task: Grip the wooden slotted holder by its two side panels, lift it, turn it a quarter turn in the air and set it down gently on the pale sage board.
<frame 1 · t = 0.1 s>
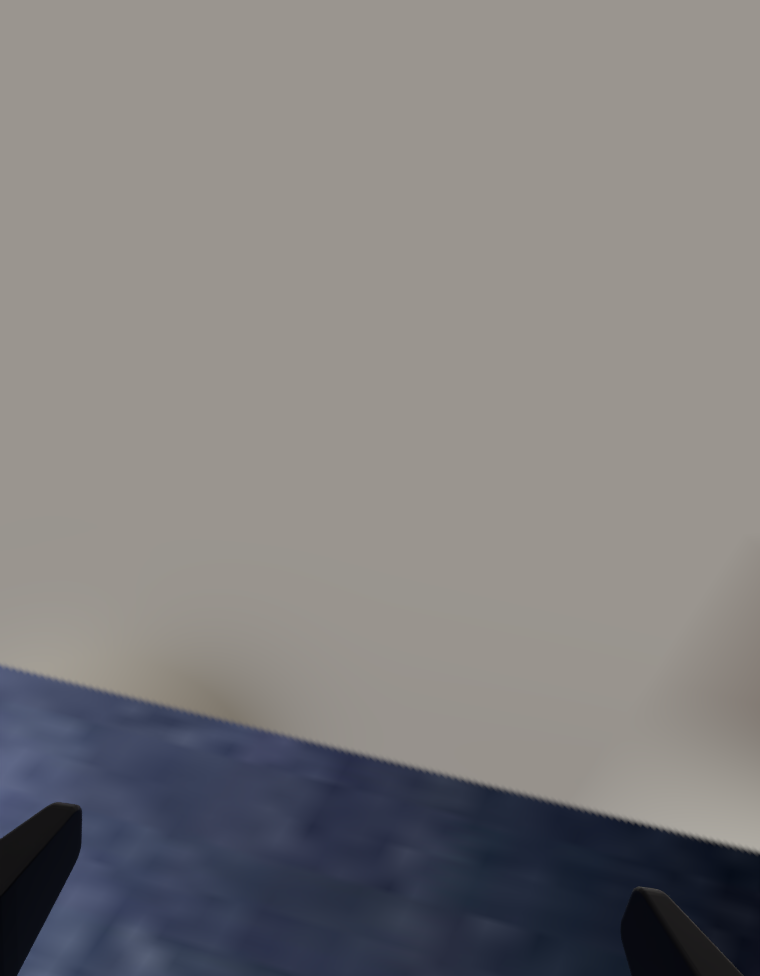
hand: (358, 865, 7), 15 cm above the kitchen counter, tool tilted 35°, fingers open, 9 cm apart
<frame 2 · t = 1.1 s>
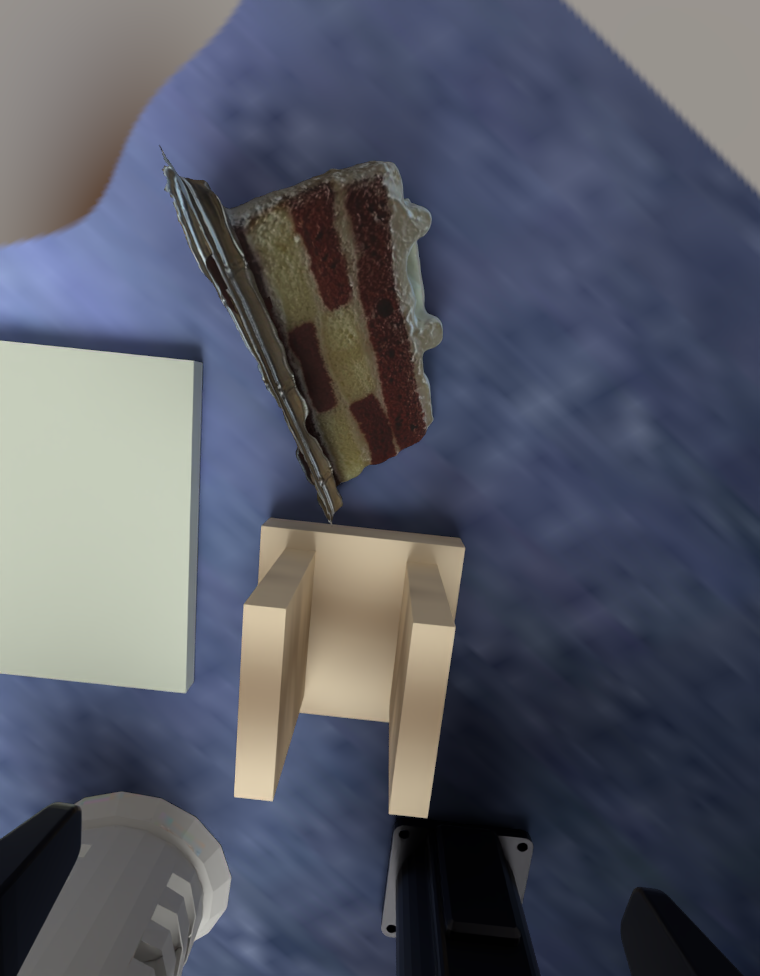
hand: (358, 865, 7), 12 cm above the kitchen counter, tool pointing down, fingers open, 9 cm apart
chocolate cake: (348, 346, 18), on the kitchen counter
wooden slotted holder: (356, 613, 19), on the kitchen counter
french press: (131, 885, 22), on the kitchen counter
sage board: (69, 519, 19), on the kitchen counter
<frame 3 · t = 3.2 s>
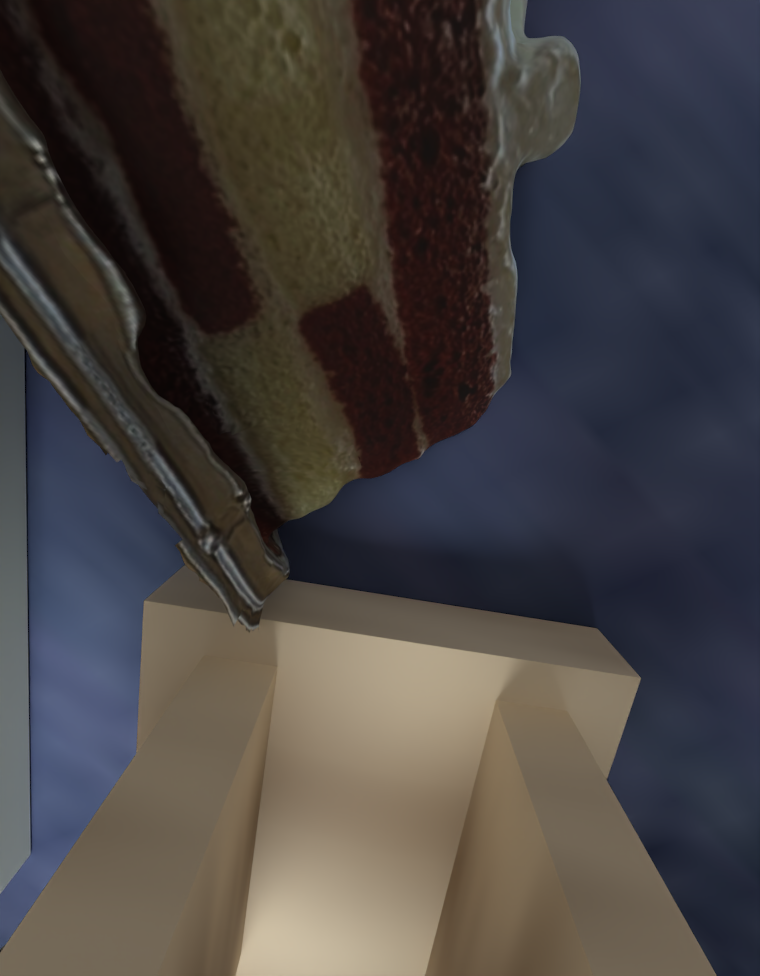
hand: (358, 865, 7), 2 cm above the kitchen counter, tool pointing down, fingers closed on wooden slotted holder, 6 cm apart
chocolate cake: (312, 195, 7), on the kitchen counter
wooden slotted holder: (362, 767, 9), on the kitchen counter, touching gripper
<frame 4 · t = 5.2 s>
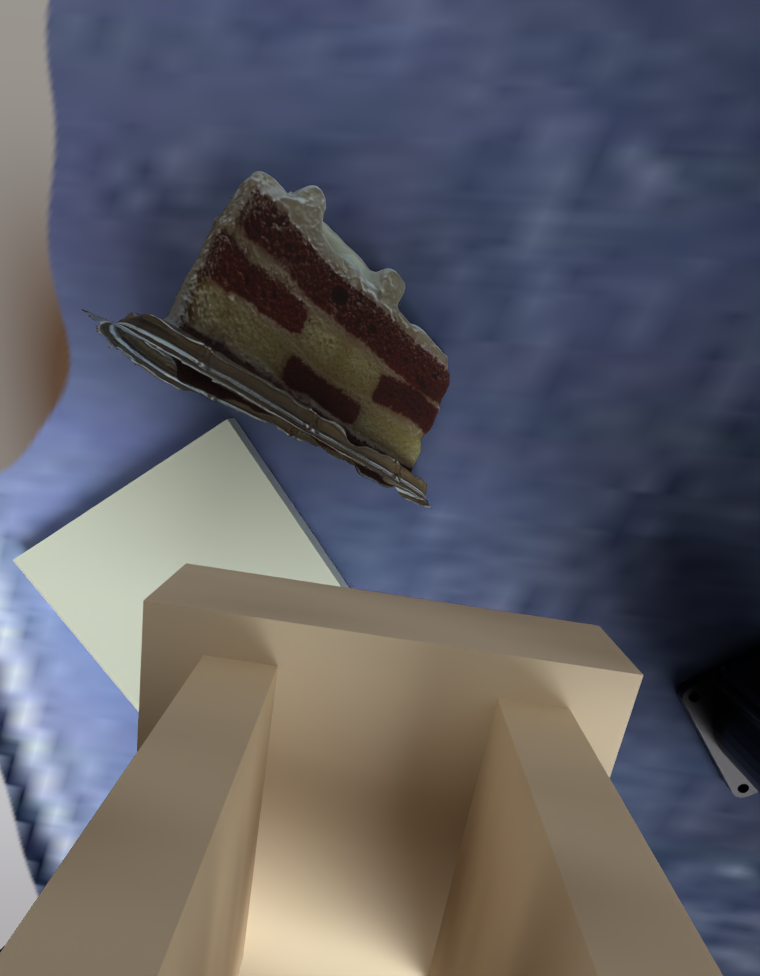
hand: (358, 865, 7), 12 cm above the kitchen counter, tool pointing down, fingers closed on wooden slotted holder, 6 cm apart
chocolate cake: (333, 354, 17), on the kitchen counter, touching sage board
wooden slotted holder: (363, 767, 9), point 10 cm above the kitchen counter, touching gripper
sage board: (226, 620, 19), on the kitchen counter
when the fingers open (4 cm above the kitchen counter, at t = 7.9 s): wooden slotted holder drops 1 cm, resting on sage board.
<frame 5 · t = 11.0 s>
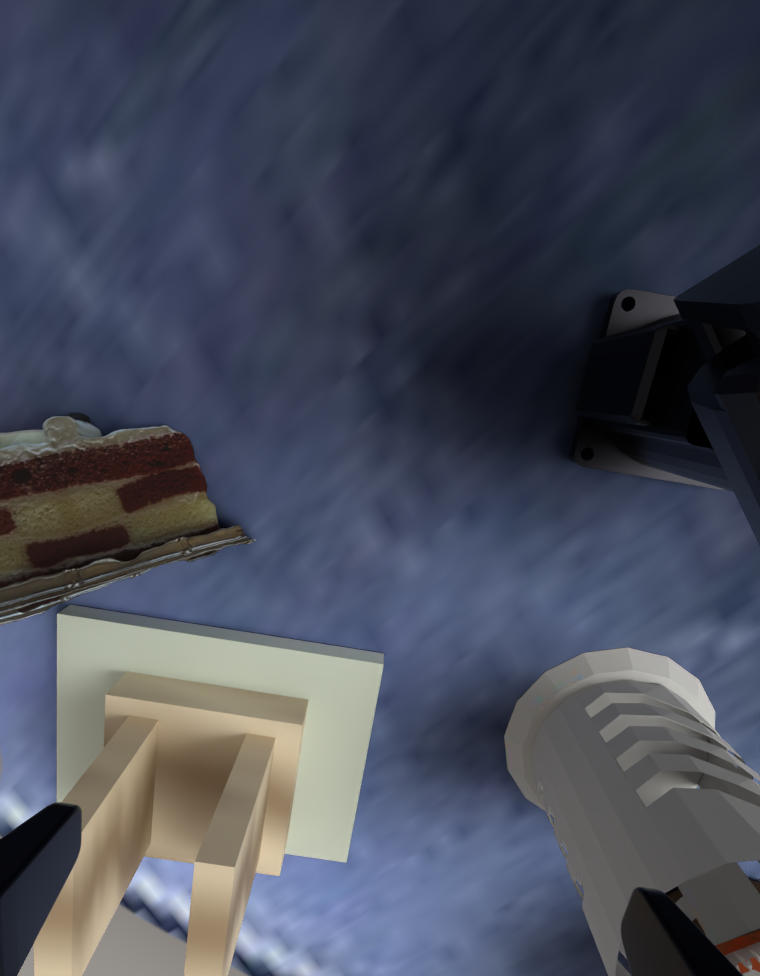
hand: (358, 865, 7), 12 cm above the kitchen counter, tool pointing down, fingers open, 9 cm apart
chocolate cake: (106, 495, 19), on the kitchen counter
wooden slotted holder: (210, 760, 20), point 1 cm above the kitchen counter, touching sage board
french press: (623, 745, 21), on the kitchen counter
sage board: (218, 733, 21), on the kitchen counter
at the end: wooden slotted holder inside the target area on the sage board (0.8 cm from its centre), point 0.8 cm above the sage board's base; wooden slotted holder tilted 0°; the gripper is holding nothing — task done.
